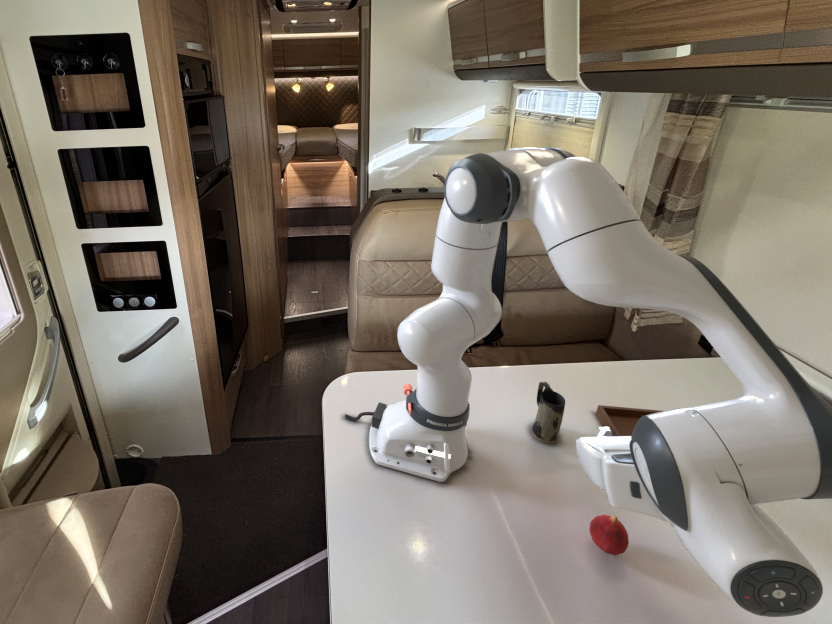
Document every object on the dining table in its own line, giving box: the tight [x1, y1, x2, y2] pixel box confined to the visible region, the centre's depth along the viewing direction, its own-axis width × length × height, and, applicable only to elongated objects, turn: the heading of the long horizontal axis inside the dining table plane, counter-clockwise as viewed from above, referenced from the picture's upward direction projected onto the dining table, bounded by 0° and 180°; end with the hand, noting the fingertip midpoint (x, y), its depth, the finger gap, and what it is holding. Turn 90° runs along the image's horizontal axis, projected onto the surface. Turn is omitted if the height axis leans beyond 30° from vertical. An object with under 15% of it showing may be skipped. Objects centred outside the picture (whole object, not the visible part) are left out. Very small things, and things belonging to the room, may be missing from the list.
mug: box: [531, 381, 566, 444], centre depth 100 cm, size 8×6×12 cm
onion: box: [589, 514, 630, 556], centre depth 76 cm, size 6×6×8 cm
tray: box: [595, 404, 664, 436], centre depth 99 cm, size 18×15×3 cm
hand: (636, 430), depth 67 cm, fingers open, 8 cm apart
